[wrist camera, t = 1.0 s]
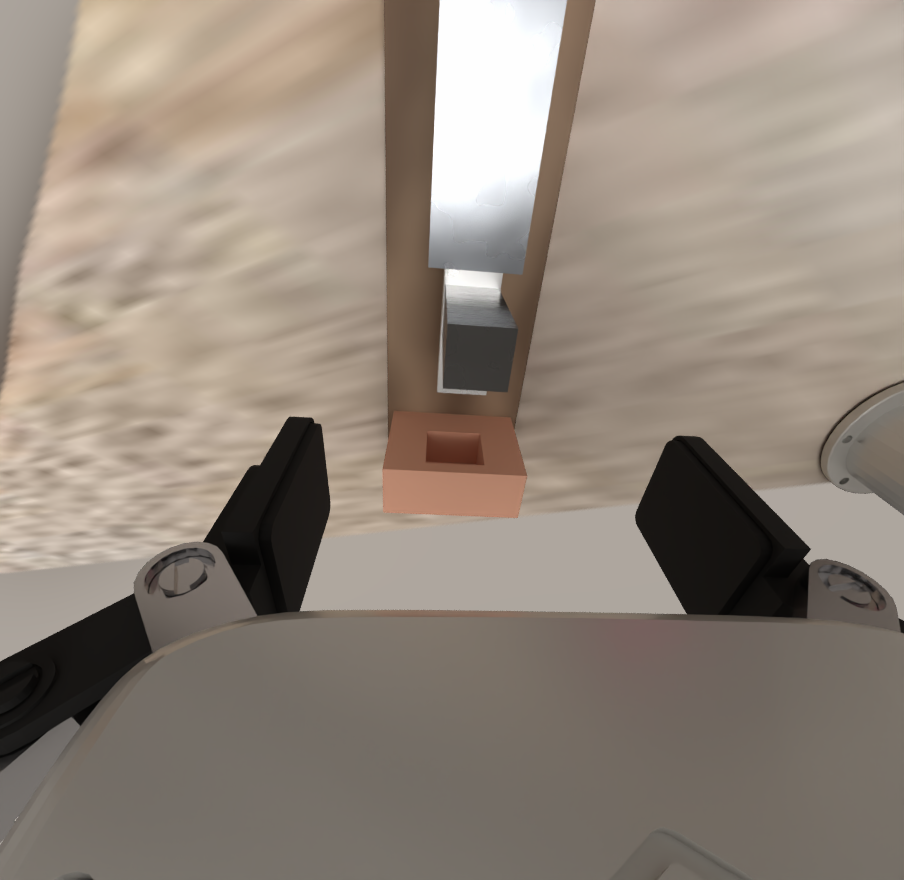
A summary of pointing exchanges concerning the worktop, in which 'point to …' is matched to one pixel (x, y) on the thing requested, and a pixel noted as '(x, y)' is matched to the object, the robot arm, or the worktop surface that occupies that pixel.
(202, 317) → the worktop surface
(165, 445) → the worktop surface
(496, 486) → the socket block
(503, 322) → the tube
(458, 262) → the outer sleeve
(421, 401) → the base board
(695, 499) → the robot arm
